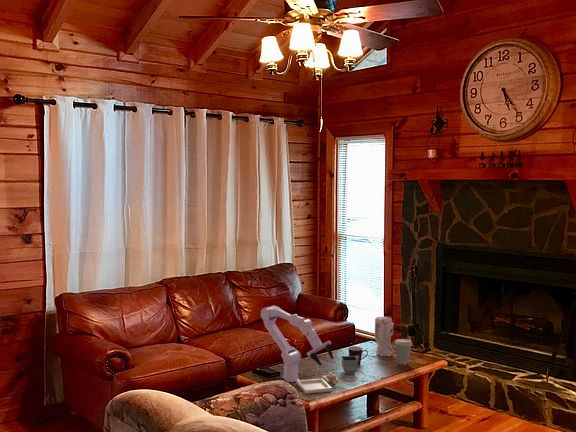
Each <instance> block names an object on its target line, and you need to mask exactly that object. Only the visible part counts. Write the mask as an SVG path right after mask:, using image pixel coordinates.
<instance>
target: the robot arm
mask: <svg viewBox="0 0 576 432" xmlns="http://www.w3.org/2000/svg"><path fill="white" fill-rule="evenodd" d="M260 318H261V319H262V320H263V325H264V327H265V328H266V330H267V331H268V333H269V334H270V336H271V337H272V338H273V340H274V342H275V344H276V345H277V346H278V347H279V349H280V351H281V354H280V356H281V358H282V361H283V363H284V365H283V375H282V376H281V377H282V378H283V379H284V381H285V382H286V381H287V382H286V383H293V382H294V383H295V382H297V380H301V379H300V378H299V363H300V361H301V358H302V355H301V352H300V351H298V350H297V349H296V347H294V346H291V345H290V344H289V342H288V341H287V339H286V337H284V335H283V333H282V332H281V330H280V328H279V327H278V326H277V325H276V321H277V318H281V319H283V320H286V321H288V323H289V324H290V325H292V326H293V327H296V328H299V331H300V332H302V333H303V334H304V335H305V337H306V339H307V340H308V342H309V344H310V346H311V348H312V349H311V350H310V351H308V352H306V355H307V357H310V358H311V359H312V360H314V362H316V364H318V366H319V367H320V366H322V362H321V361H320V359H319V356H318V355H317V352H319V351H321V350H323V349H325V351H326V352H327V354H328V355H329V357H330V359H331V360H333V359H334V356H333V355H334V354H333V352H332V341H330V340H328V341H325V342H324V343H323V342H322V341H321V339H320V337H319V336H318V334H317V332H316V330H315V329H314V323H313V321H312V320H311V319H310V318H304V317H301V316H298V314H297V313H295V314H291V313H288V312H286V311H284V310H283V309H282V308H281V307H279V306H276V305H271V306H267V307H263V308H262V309H261V310H260Z"/></svg>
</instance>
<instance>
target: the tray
mask: <svg viewBox="0 0 576 432" xmlns="http://www.w3.org/2000/svg"><path fill="white" fill-rule="evenodd" d="M296 386H297V387H298V388H299V389H300V390H301V391H302V392H303V393H304V394H305V395H308V394H318V393H330V392H331V393H332V392H333V387H332V386H331V385H330V384H329V383H326V382H325V381H324V380H323V379H322V377H321V378H320V377H319V378H313V379H311V378H310V379H300V380H297V381H296Z"/></svg>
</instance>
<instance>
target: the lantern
mask: <svg viewBox="0 0 576 432" xmlns="http://www.w3.org/2000/svg"><path fill="white" fill-rule="evenodd" d="M374 319H375V320H374V338H375V341H376V344H377V345H378V346H377V347H376V349H375V352H376V355H377V354H378V355H382V356H387V355H391V354H394V351H395V350H394V349H393V345H392V343H391V342H392V341H391V340H392V336H393V335H394V323H393V318H392V317H388V316H377V317H375V318H374ZM378 355H377V356H378ZM382 356H381V357H382ZM391 356H392V355H391Z"/></svg>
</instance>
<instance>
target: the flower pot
mask: <svg viewBox="0 0 576 432" xmlns="http://www.w3.org/2000/svg"><path fill="white" fill-rule="evenodd" d="M340 359H341V366H342V370H343V372H344V374H345V375H355V374H356V372H357V370H358V367H359V366H358V359H357V357H356V356H349V355H341V357H340Z"/></svg>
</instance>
